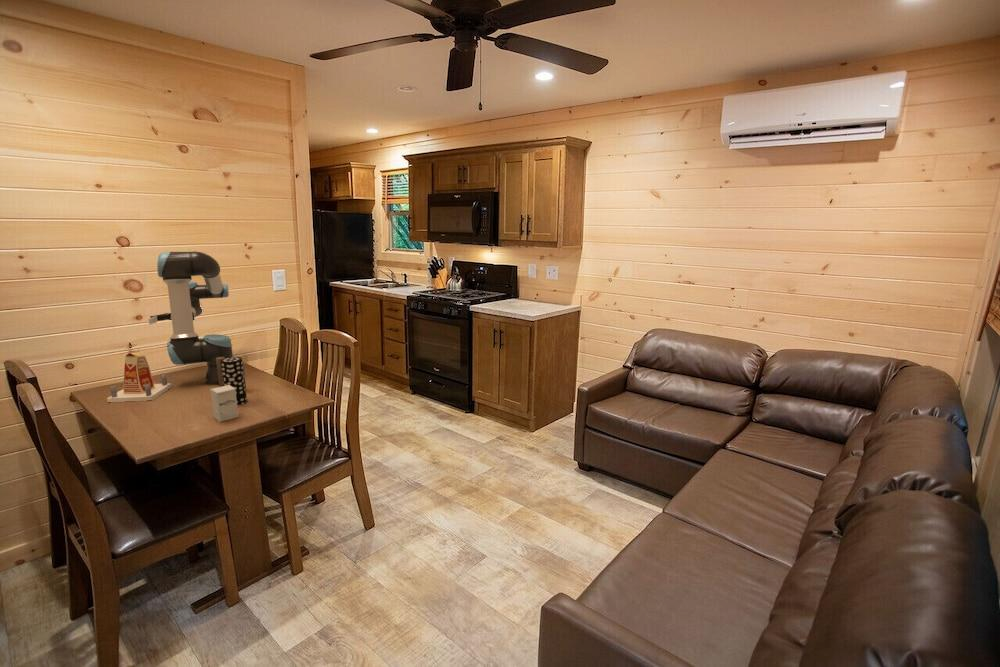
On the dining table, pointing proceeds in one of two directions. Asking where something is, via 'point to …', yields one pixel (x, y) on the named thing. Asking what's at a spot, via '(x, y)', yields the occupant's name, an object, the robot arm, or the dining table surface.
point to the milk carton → (136, 373)
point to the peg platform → (140, 397)
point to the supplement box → (224, 403)
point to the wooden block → (221, 371)
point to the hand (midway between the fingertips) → (164, 321)
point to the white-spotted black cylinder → (234, 377)
